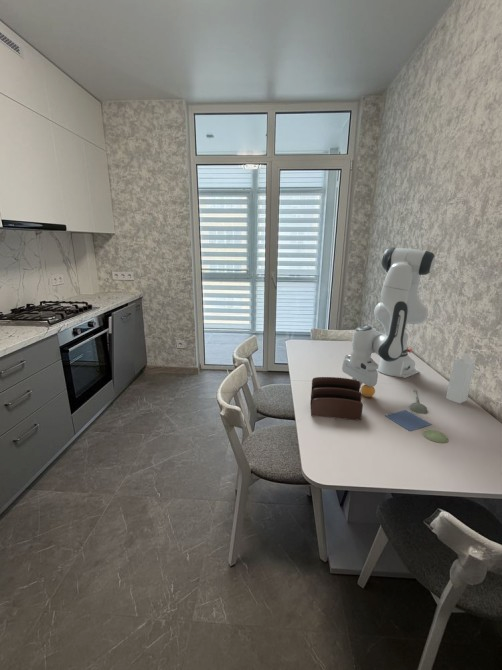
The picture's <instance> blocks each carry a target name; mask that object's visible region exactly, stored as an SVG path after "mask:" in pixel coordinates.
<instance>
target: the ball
mask: <svg viewBox="0 0 502 670" xmlns="http://www.w3.org/2000/svg"><path fill="white" fill-rule="evenodd" d="M360 392H361V394H362V396H364V397H366V398H372V397H373V396H375V393H376V389H375V386H371V387H369V386H367V385H366V384H364V385H363V384H362V385H361V388H360Z"/></svg>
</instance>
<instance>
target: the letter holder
mask: <svg viewBox="0 0 502 670" xmlns="http://www.w3.org/2000/svg"><path fill="white" fill-rule="evenodd" d="M310 392H311V393H310V403H309V404H310V416H311V417H321V418H332V419H341V420H342V419H344V420H354V421H362V419H363V417H362V416H363V407H364V403H363V402H362V401H361V400H362V396H363V394H362V392H361V388H360V382H359V381H358V380H353V379H351V378H346V377H333V376H331V377H329V376H326V377H325V376H320V377H319V376H317V377H313V378H312V380H311V391H310Z"/></svg>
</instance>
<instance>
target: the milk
mask: <svg viewBox="0 0 502 670" xmlns="http://www.w3.org/2000/svg"><path fill="white" fill-rule="evenodd" d="M475 365H476V361H475V360H474V359H473V358H471V356H470V352H469V353H466V354H462V355H461V357H460V358H455V359H453V363H452V368H451V372H450V378H449V382H448V388H447V391H446V397H445V399H447V400H449V401H452V402H454V403H457V404H462V403H465V402H467V400H468V396H469V392H470V389H471V388H470V387H471V383H472V378H473V375H474V369H475Z"/></svg>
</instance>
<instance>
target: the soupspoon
mask: <svg viewBox="0 0 502 670" xmlns="http://www.w3.org/2000/svg"><path fill="white" fill-rule="evenodd" d="M413 393H414V396H415V402H412V403H410V404H409V408H410V409H409V410H411V412H412V413H416V414H418V415H419V414H421V415H427V413H428V409H427V407H426V405H424V404H423V403H420V402H419V399H418V398H419V397H418V395H417V393H418V390H416V389H413Z"/></svg>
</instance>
